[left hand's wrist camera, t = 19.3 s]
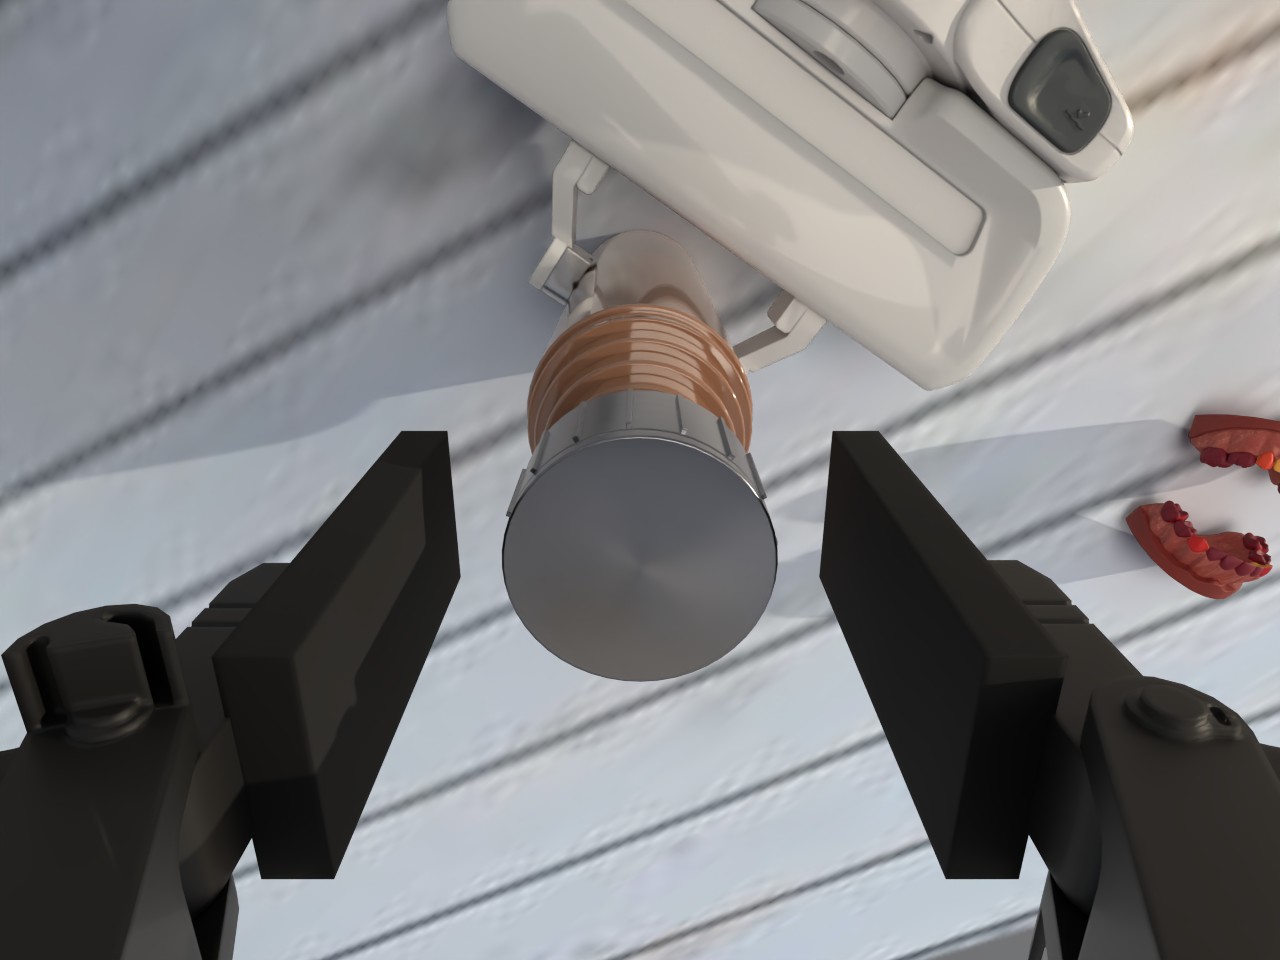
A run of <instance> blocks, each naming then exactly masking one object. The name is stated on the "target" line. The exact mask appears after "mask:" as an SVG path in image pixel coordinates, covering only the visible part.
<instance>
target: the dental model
mask: <svg viewBox="0 0 1280 960" xmlns="http://www.w3.org/2000/svg"><path fill="white" fill-rule="evenodd" d="M1188 437H1190V438H1191V443H1192V444H1193V446H1194V447H1195V448H1196V449H1197V450H1198V451H1199V452H1200V453H1201V455H1200V461H1201V462H1202V463H1206V464H1208V465H1210V466H1212V467H1216V466H1218V467H1222V468H1227V467H1230V466H1232V465H1233V464H1235V465H1239V466H1242V467H1243V468H1247V467H1251V466H1253V465H1255V463H1256V464H1257V465H1258V466H1259V467H1261V468H1262V469H1264V470H1268V471H1269V476H1270V480H1271V482H1272V483H1273V484H1274V485H1278V492H1279V493H1280V422H1279V421H1274V420H1268V419H1263V418H1256V417H1247V416H1237V415H1216V414H1210V415H1196V416H1195V418H1194V421H1193V424H1192V427H1191V430H1190V433H1189V436H1188ZM1256 459H1257V460H1256ZM1188 516H1189V514H1188V513H1187V512H1185V511H1182V509H1181V508H1180V506H1179V504H1174V503H1173V502H1172V501H1167V502H1165V503H1157V504H1149V505H1142V506H1139V507H1138V508H1137V509H1136V510H1135V511H1133V512H1132V513H1131V514H1130V515H1129V516H1128V517H1127V518H1126V522H1127V524H1128V526H1129V528H1130V529H1131V531H1132V533H1133V535H1134V536H1135V538H1136V539H1137V541H1138V542H1139V544H1140V545H1141V546H1142V548H1143V549H1144V550H1145V551H1146V553H1147V554H1148V555H1149V556H1150V557H1151V559H1152V560H1153V561H1154V562H1155V563H1156V564H1157V565H1158V566H1159V567H1161V568H1162V569H1163V570H1164V571H1165V572H1166V573H1167V574H1168V575H1169V576H1171V577H1172V578H1173V579H1175V580H1176V581H1178V582H1179V583H1181V584H1182V585H1184V586H1185V587H1187V588H1188V589H1190V590H1192V591H1194V592H1196V593H1198V594H1200V595H1202V596H1205V597H1209V598H1213V599H1225V598H1227V597H1229V596H1231V595H1232V594H1233V593H1235V592H1236V591H1238V590H1239V589H1240V587H1241V586H1242V583H1243V582H1249V581H1253V580H1257V579H1259V578H1260V577H1262V576H1264V575H1266V574H1267V573H1268V572H1269V571H1270V570H1271V569H1272V567H1273V566H1272V565H1269V563H1270V562H1271V556H1269V555H1268V554H1266V553H1267V552H1268V551H1269V549H1268V545H1267V544H1266V541H1265V539H1264V538H1263V537H1260V536H1253V534H1252V533H1247V534H1245V535H1244V534H1242V533H1238V532H1224V533H1220V534H1215V535H1196V534H1197V530H1196V529H1193V525H1192V523H1191V522H1189V521H1185V520H1186V519H1187V518H1188Z"/></svg>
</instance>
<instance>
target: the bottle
mask: <svg viewBox="0 0 1280 960" xmlns="http://www.w3.org/2000/svg"><path fill="white" fill-rule="evenodd" d="M591 256H593V257H594V258H593V261H592V263H591V265H590V267H589V268H588V270H587V271H586V273H585V274H584V276H583V277H582V278H581V279H580V280H579V281H578V282H577V283H576V286H575V288H574V290H573V292H572V294H571V296H570V298H569V300H568V302H567V305H566V307H565V309H564V311H563V313H562V315H561V317H560V319H559V322H558V324H557V326H556V328H555V330H554V332H553V334H552V336H551V339H550V341H549V343H548V345H547V347H546V349H545V351H544V353H543V356H542V358H541V360H540V362H539V364H538V366H537V368H536V371H535V373H534V376H533V379H532V382H531V385H530V389H529V395H528V400H527V422H528V427H527V428H528V438H529V444H530V448H531V452H532V455H533V452H534V450H535V448H536V447H537V445H538V444H539V442H540V439H541V436H542V433H543V432H544V430H545V429H546V430H549V429H550V428H551V427H552V426H553V425H554V424H555V423H556V422H557V421H558V420H560V419H561V418H562V417H563V416H564V415H565V414H567V413H568V412H570V411H571V410H573V409H574V408H576V407H577V406H579V405H580V402H582V401H585V403H586V402H588V401H590V400H592V399H595V398H598V397H600V396H603V395H606V394H611V393H616V392H621V391H627V389H633V390H647V391H658V392H663V393H669V394H673V395H676V396H677V394H680V395H682V398H685V399H688V400H690V401H692V402H694V403H696V404H698V405H700V406H702V407H703V408H705V409H707V410H708V411H710V412H711V413H713V414H714V415H715V416H717V417H718V418H720V417H722V418H723V419H724V421H725V424H726V425H727V426H728V428H729V429H730V430H731V431H732V432H733V433H734V434H735V435H736V437H737V438H738V440H739V441H740V443H741V444H742V446H743V447H744V449H745V451H746V453H747V454H748V450H749V447H750V441H751V434H752V419H753V405H752V397H751V390H750V387H749V383H748V380H747V376H746V374H745V372H744V369H743V367H742V365H741V363H740V361H739V358H738V356H737V354H736V352H735V350H734V348H733V346H732V344H731V341H730V339H729V337H728V335H727V333H726V331H725V329H724V326H723V324H722V322H721V320H720V318H719V316H718V314H717V312H716V309H715V307H714V305H713V303H712V301H711V299H710V297H709V295H708V292H707V290H706V288H705V286H704V284H703V282H702V280H701V278H700V275H699V273H698V271H697V269H696V267H695V265H694V263H693V261H692V259H691V258H690V256H689V255H688V254H687V252H686V251H685V250H684V249H683V248H682V247H681V246H680V245H679V244H678V243H676V242H675V241H673V240H672V239H670V238H668V237H667V236H665V235H662V234H659V233H656V232H652V231H645V230H633V231H627V232H623V233H620V234H617V235H615V236H613V237H611V238H609V239H608V240H606V241H605V242H603V243H602V244H601V245H600V246H599V247H597V248H596V250H595V251H594V252H593V253H592V254H591Z"/></svg>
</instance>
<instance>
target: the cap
mask: <svg viewBox="0 0 1280 960" xmlns="http://www.w3.org/2000/svg"><path fill="white" fill-rule="evenodd" d="M765 498H767V496H766V494H765V491H764V488H763V485H762V483H761V480H760V477H759V474H758V472H757V469H756V466H755V463H754V461H753V458H752V455H751V453H748V454H747V453H746V451H745V449H744V447H743V446H742V444H741V443H740V441H739V440H738V438H737V437H736V435H735V434H734V433H733V432H732V431H731V430H730V429H729V428H728V426H727V425H726V424H725V421H724V419H723V418H722V417H720V418H718V417H717V416H715V415H714V414H713V413H711V412H710V411H708V410H707V409H705V408H703V407H702V406H700V405H698V404H696V403H694V402H692V401H690V400H688V399H685V398H682V395H680V394H677V396H676V395H673V394H669V393H663V392H658V391H647V390H633V389H627V391H621V392H616V393H611V394H606V395H603V396H600V397H598V398H595V399H592V400H590V401H588V402H586V403H585V401H582V402H580V405H579V406H577V407H576V408H574V409H573V410H571V411H570V412H568V413H567V414H565V415H564V416H563V417H562V418H561V419H560V420H558V421H557V422H556V423H555V424H554V425H553V426H552V427H551V428H550V429H549V430H546V429H545V430H544V432H543V433H542V436H541V439H540V442H539V444H538V445H537V447H536V448H535V450H534V452H533V455H532V457H531V459H530V461H529V463H528V466H527V469H523V470H522V472H521V475H520V478H519V481H518V483H517V486H516V489H515V492H514V494H513V497H512V500H511V502H510V505H509V508H508V511H507V514H506V516H508V517H509V520H508V524H507V527H506V530H505V534H504V540H503V547H502V569H503V576H504V582H505V586H506V589H507V592H508V596H509V599H510V601H511V603H512V605H513V607H514V609H515V611H516V613H517V615H518V616H519V618H520V619H521V621H522V623H523V624H524V626H525V627H526V628H527V629H528V631H529V632H530V633H531V634H532V635H533V637H534V638H535V639H536V640H537V641H538V642H539V643H541V644H542V645H543V646H544V647H545V648H546V649H547V650H548V651H550V652H551V653H553V654H554V655H555V656H557V657H558V658H560V659H561V660H563V661H565V662H567V663H568V664H570V665H572V666H574V667H576V668H578V669H581V670H583V671H586V672H588V673H591V674H594V675H598V676H602V677H605V678H610V679H616V680H622V681H640V682H642V681H658V680H664V679H669V678H675V677H678V676H682V675H685V674H688V673H692V672H694V671H696V670H699V669H701V668H703V667H706V666H708V665H709V664H711V663H713V662H715V661H716V660H718V659H720V658H722V657H723V656H724V655H726V654H727V653H728V652H730V651H731V650H732V649H734V648H735V647H736V646H737V645H738V644H739V643H740V642H741V641H742V640H743V639H744V638H745V637H746V636H747V635H748V634H749V633H750V631H751V630H752V629H753V628H754V626H755V625H756V624H757V622H758V620H759V619H760V617H761V616H762V614H763V612H764V611H765V609H766V606H767V604H768V602H769V600H770V597H771V595H772V591H773V587H774V584H775V580H776V573H777V565H778V556H777V539H776V536H775V531H774V528H773V525H772V522H771V519H770V516H769V513H768V510H767V507H766V505H765V502H764V499H765Z"/></svg>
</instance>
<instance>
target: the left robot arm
mask: <svg viewBox="0 0 1280 960" xmlns="http://www.w3.org/2000/svg"><path fill="white" fill-rule="evenodd" d="M460 577H461V576H460V565H459V554H458V543H457V532H456V521H455V510H454V499H453V488H452V477H451V466H450V455H449V444H448V433H447V431H401V432H400V434H399V435H398V436H397V437H396V438H395V439H394V441H393V442H392V443H391V444H390V445H389V447H388V448H387V449H386V450H385V451H384V452H383V454H382V455H381V456H380V457H379V458H378V460H377V461H376V462H375V463H374V464H373V466H372V467H371V468H370V469H369V470H368V471H367V473H366V474H365V475H364V476H363V477H362V479H361V480H360V481H359V482H358V483H357V485H356V486H355V487H354V488H353V489H352V490H351V492H350V493H349V494H348V495H347V496H346V498H345V499H344V500H343V501H342V502H341V503H340V505H339V506H338V507H337V508H336V509H335V511H334V512H333V513H332V514H331V515H330V517H329V518H328V519H327V520H326V521H325V522H324V524H323V525H322V526H321V527H320V528H319V530H318V531H317V532H316V533H315V534H314V535H313V537H312V538H311V539H310V540H309V541H308V543H307V544H306V545H305V546H304V547H303V549H302V550H301V551H300V552H299V553H298V554H297V556H296V557H295V558H294V559H293V560H292V562H291V563H262V564H261V565H259V566H257V567H255V568H254V569H252V570H250V571H248V572H247V573H245V574H243V575H241V576H239V577H238V578H236V579H234V580H232V581H231V582H229V583H228V584H227V586H226V587H225V588H224V589H223V590H222V591H221V592H220V593H219V594H218V595H217V596H216V597H215V598H214V599H213V600H212V601H211V602H210V604H209V608H205V609H204V610H203V611H202V612H201V613H200V614H199V615H198V616H197V617H196V618H195V619H194V620H193V621H192V627H187V628H186V629H185V630H184V631H183V632H182V633H181V634H180V635H179V636H178V637H177V638H176V639H175V635H174V631H173V627H172V623H171V619H170V616H169V615H167V614H166V613H165V612H163V611H162V610H160V609H159V608H157V607H151V606H145V605H139V604H126V605H109V606H103V607H98V608H94V609H89V610H85V611H80V612H75V613H72V614H70V615H67V616H64V617H62V618H59V619H56V620H54V621H51V622H48V623H45V624H43V625H41V626H40V627H38V628H36V629H34V630H33V631H31V632H29V633H27V634H26V635H24V636H22V637H20V638H18V639H17V640H16V641H15V642H14V643H13V644H12V645H11V646H10V647H9V648H8V649H7V650H6V651H5V652H4V653H3V654H2V655H1V656H2V659H3V662H4V665H5V668H6V671H7V674H8V677H9V680H10V683H11V686H12V689H13V692H14V695H15V698H16V701H17V704H18V707H19V710H20V713H21V716H22V719H23V722H24V725H25V728H26V731H27V734H26V736H25V738H24V740H23V741H22V743H21V745H20V747H19V748H15V749H10V750H5V751H0V960H232V958H233V951H234V943H235V935H236V928H237V920H238V913H239V905H238V898H237V891H236V887H235V883H234V879H233V875H232V872H233V870H234V869H235V867H236V865H237V863H238V861H239V860H240V858H241V856H242V854H243V853H244V851H245V849H246V847H247V845H248V844H249V842H250V840H251V838H252V840H253V844H254V848H255V853H256V857H257V862H258V866H259V871H260V875H261V879H334V878H335V876H336V873H337V871H338V869H339V866H340V864H341V861H342V859H343V857H344V854H345V852H346V849H347V847H348V845H349V842H350V840H351V838H352V835H353V833H354V830H355V828H356V826H357V823H358V821H359V818H360V816H361V814H362V811H363V809H364V806H365V804H366V802H367V799H368V797H369V795H370V792H371V790H372V787H373V785H374V783H375V780H376V778H377V775H378V773H379V771H380V768H381V766H382V763H383V761H384V759H385V756H386V754H387V752H388V749H389V747H390V744H391V742H392V740H393V737H394V735H395V732H396V730H397V728H398V725H399V723H400V720H401V718H402V716H403V713H404V711H405V709H406V706H407V704H408V701H409V699H410V697H411V694H412V692H413V689H414V687H415V685H416V682H417V680H418V677H419V675H420V673H421V670H422V668H423V666H424V663H425V661H426V658H427V656H428V654H429V651H430V649H431V646H432V644H433V642H434V639H435V637H436V634H437V632H438V630H439V627H440V625H441V623H442V620H443V618H444V615H445V613H446V611H447V608H448V606H449V603H450V601H451V599H452V596H453V594H454V591H455V589H456V587H457V584H458V582H459V580H460ZM819 577H820V580H821V582H822V584H823V587H824V589H825V591H826V594H827V596H828V599H829V601H830V603H831V606H832V608H833V611H834V613H835V615H836V618H837V620H838V623H839V625H840V627H841V630H842V632H843V634H844V637H845V639H846V642H847V644H848V646H849V649H850V651H851V654H852V656H853V658H854V661H855V663H856V666H857V668H858V670H859V673H860V675H861V677H862V680H863V682H864V685H865V687H866V689H867V692H868V694H869V697H870V699H871V701H872V704H873V706H874V709H875V711H876V713H877V716H878V718H879V720H880V723H881V725H882V728H883V730H884V732H885V735H886V737H887V740H888V742H889V744H890V747H891V749H892V752H893V754H894V756H895V759H896V761H897V763H898V766H899V768H900V771H901V773H902V775H903V778H904V780H905V783H906V785H907V787H908V790H909V792H910V795H911V797H912V799H913V802H914V804H915V806H916V809H917V811H918V814H919V816H920V818H921V821H922V823H923V826H924V828H925V830H926V833H927V835H928V838H929V840H930V842H931V845H932V847H933V849H934V852H935V854H936V857H937V859H938V861H939V864H940V866H941V869H942V871H943V873H944V876H945V878H946V879H1019V875H1020V871H1021V866H1022V862H1023V857H1024V853H1025V848H1026V844H1027V840H1028V835H1029V836H1030V838H1031V839H1032V841H1033V843H1034V845H1035V846H1036V848H1037V850H1038V852H1039V853H1040V855H1041V857H1042V859H1043V860H1044V862H1045V864H1046V866H1047V868H1048V869H1049V871H1048V875H1047V879H1046V883H1045V887H1044V891H1043V895H1042V900H1041V904H1040V908H1039V912H1038V916H1037V920H1036V924H1035V928H1034V933H1033V937H1032V941H1031V945H1030V952H1029V958H1028V960H1041V959H1042V955H1043V951H1044V948H1045V947H1046V948H1047V956H1048V960H1280V748H1279V747H1274V746H1269V745H1265V744H1261V743H1259V742H1258V740H1257V738H1256V736H1255V734H1254V732H1253V731H1252V730H1251V729H1250V727H1249V726H1248V725H1247V724H1246V723H1245V722H1244V720H1243V719H1242V718H1241V717H1240V716H1239V715H1238V714H1237V713H1236V712H1234V711H1233V710H1231V709H1230V708H1228V707H1227V706H1225V705H1224V704H1223V703H1221V702H1220V701H1218V700H1217V699H1215V698H1214V697H1211V696H1209V695H1207V694H1204V693H1202V692H1200V691H1198V690H1195V689H1193V688H1191V687H1188V686H1186V685H1183V684H1180V683H1176V682H1172V681H1168V680H1164V679H1160V678H1156V677H1148V676H1143V675H1142V674H1141V673H1140V672H1139V671H1138V670H1137V669H1136V668H1135V667H1134V666H1133V665H1132V664H1131V663H1130V662H1129V661H1128V660H1127V659H1126V658H1125V656H1124V655H1123V654H1122V653H1121V652H1120V651H1119V650H1118V649H1117V648H1116V647H1115V646H1114V645H1113V644H1112V643H1111V642H1110V641H1109V640H1108V639H1107V638H1106V637H1105V635H1104V634H1103V633H1102V632H1101V631H1100V630H1099V629H1098V628H1097V627H1096V626H1095V625H1094V624H1089V619H1088V618H1087V617H1086V616H1085V615H1084V613H1083V612H1082V611H1081V610H1080V609H1079V608H1078V607H1077V606H1076V605H1072V604H1071V600H1070V599H1069V598H1068V597H1067V596H1066V595H1065V594H1064V592H1063V591H1062V590H1061V589H1060V588H1059V587H1058V586H1057V585H1056V584H1055V583H1054V582H1053V581H1052V580H1051V579H1050V578H1048V577H1046V576H1044V575H1043V574H1041V573H1039V572H1037V571H1035V570H1034V569H1032V568H1030V567H1028V566H1027V565H1025V564H1023V563H1021V562H1019V561H1018V560H987V559H986V558H985V557H984V556H983V554H982V553H981V552H980V551H979V550H978V549H977V547H976V546H975V545H974V544H973V543H972V541H971V540H970V539H969V538H968V537H967V535H966V534H965V533H964V532H963V531H962V530H961V528H960V527H959V526H958V525H957V524H956V522H955V521H954V520H953V519H952V518H951V517H950V515H949V514H948V513H947V512H946V511H945V509H944V508H943V507H942V506H941V505H940V503H939V502H938V501H937V500H936V499H935V498H934V496H933V495H932V494H931V493H930V492H929V490H928V489H927V488H926V487H925V486H924V485H923V483H922V482H921V481H920V480H919V479H918V477H917V476H916V475H915V474H914V473H913V471H912V470H911V469H910V468H909V467H908V466H907V464H906V463H905V462H904V461H903V460H902V458H901V457H900V456H899V455H898V454H897V452H896V451H895V450H894V449H893V448H892V447H891V445H890V444H889V443H888V442H887V441H886V439H885V438H884V437H883V436H882V435H881V434H880V432H879V431H833V433H832V444H831V455H830V466H829V477H828V488H827V499H826V510H825V521H824V532H823V543H822V554H821V565H820V576H819Z"/></svg>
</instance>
